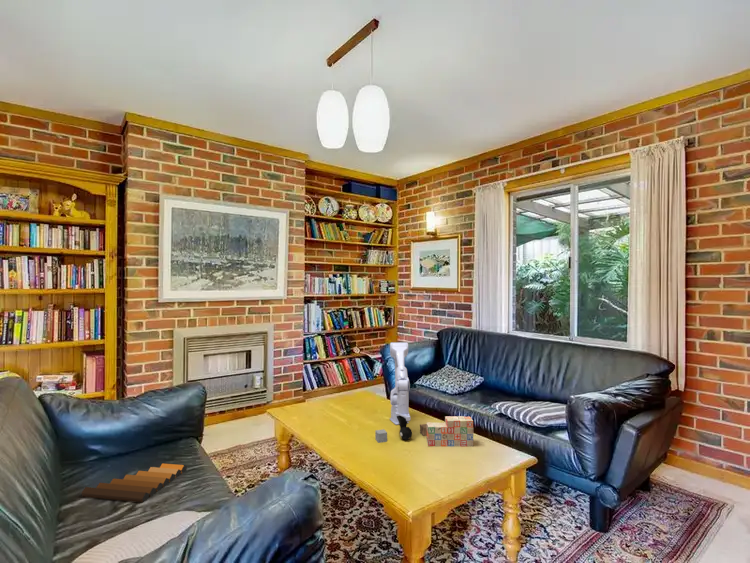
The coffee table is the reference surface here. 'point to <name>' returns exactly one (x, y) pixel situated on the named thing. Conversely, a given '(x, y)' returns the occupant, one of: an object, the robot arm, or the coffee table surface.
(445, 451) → the coffee table surface
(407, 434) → the billiard ball
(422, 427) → the walnut block
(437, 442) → the stack of blocks
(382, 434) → the grey block
